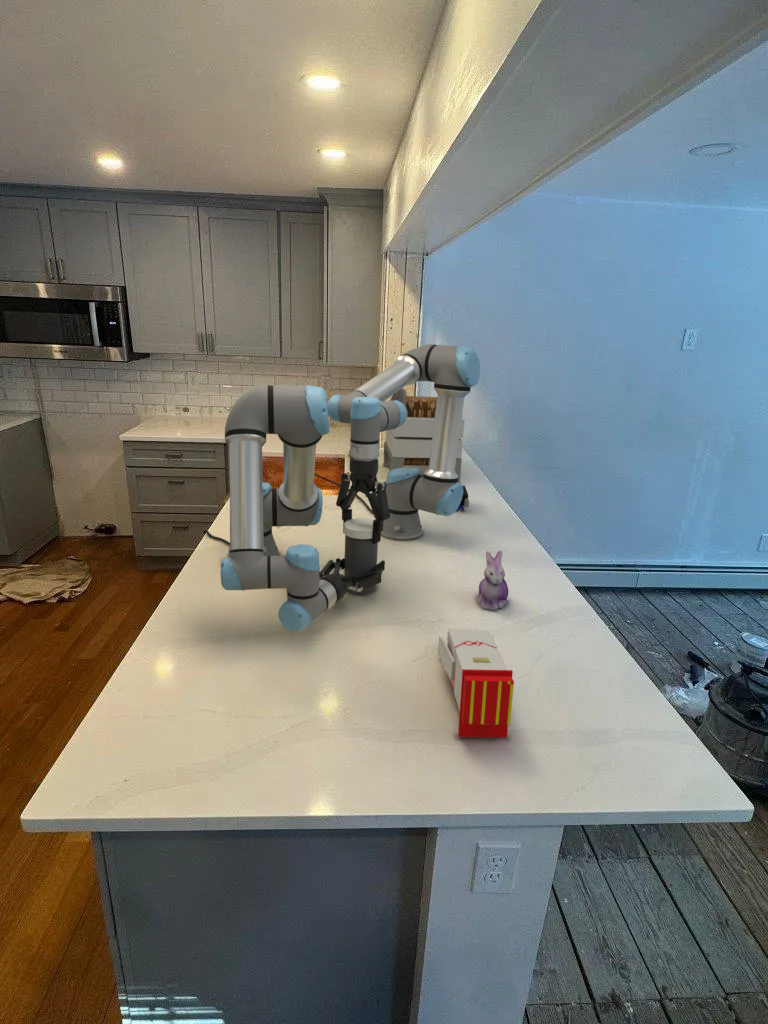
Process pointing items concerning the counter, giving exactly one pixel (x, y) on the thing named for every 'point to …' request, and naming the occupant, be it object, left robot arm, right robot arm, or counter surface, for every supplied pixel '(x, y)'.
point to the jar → (360, 559)
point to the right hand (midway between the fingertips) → (361, 537)
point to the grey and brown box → (415, 434)
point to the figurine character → (464, 499)
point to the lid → (359, 528)
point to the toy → (478, 682)
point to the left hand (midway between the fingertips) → (368, 561)
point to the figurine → (493, 584)
